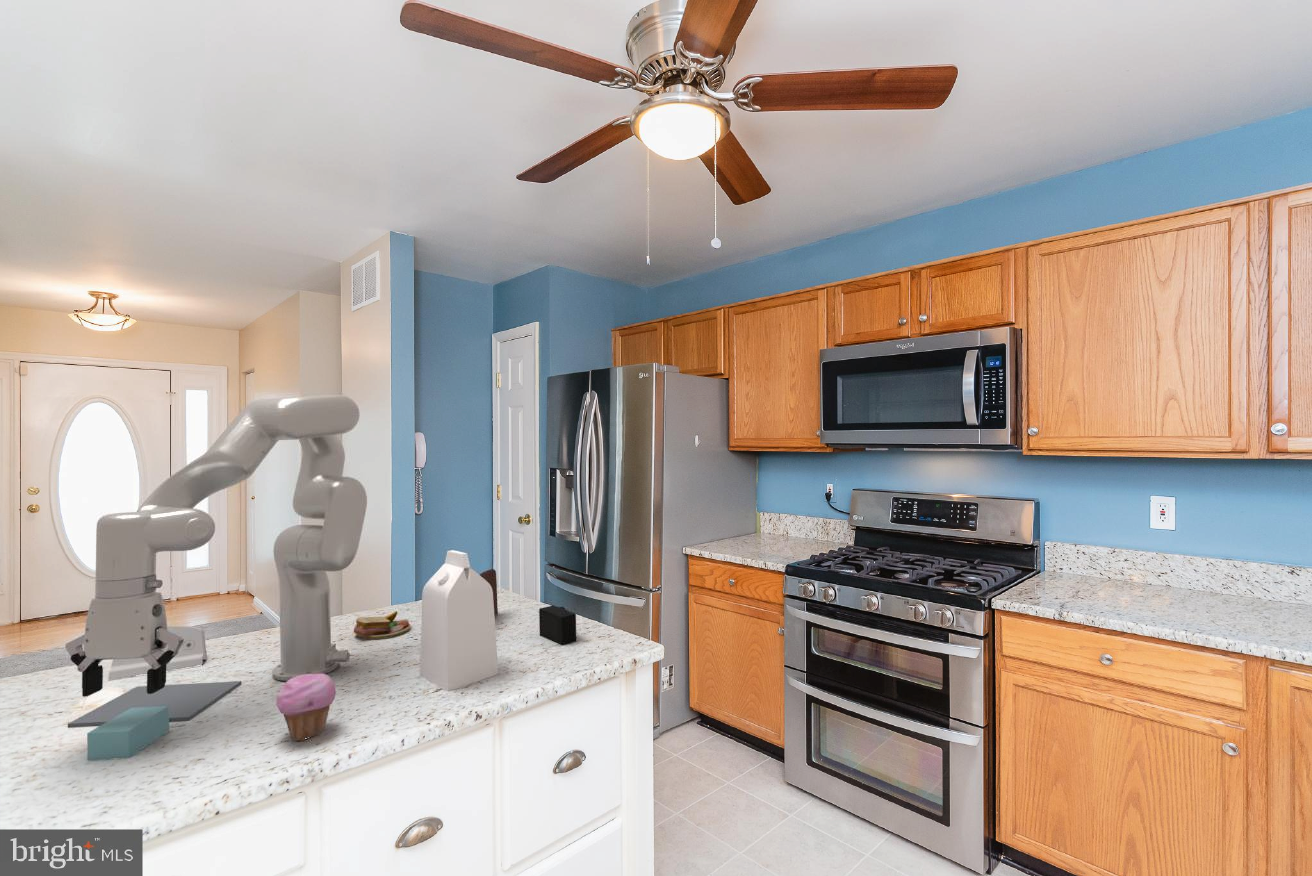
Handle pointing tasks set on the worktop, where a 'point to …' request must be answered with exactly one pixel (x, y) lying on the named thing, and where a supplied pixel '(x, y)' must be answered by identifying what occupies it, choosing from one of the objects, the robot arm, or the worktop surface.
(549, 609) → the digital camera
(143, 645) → the robot arm
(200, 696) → the mat
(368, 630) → the toy sandwich meal
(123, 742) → the card box
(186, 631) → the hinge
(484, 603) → the milk
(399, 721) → the worktop surface
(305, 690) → the cupcake
